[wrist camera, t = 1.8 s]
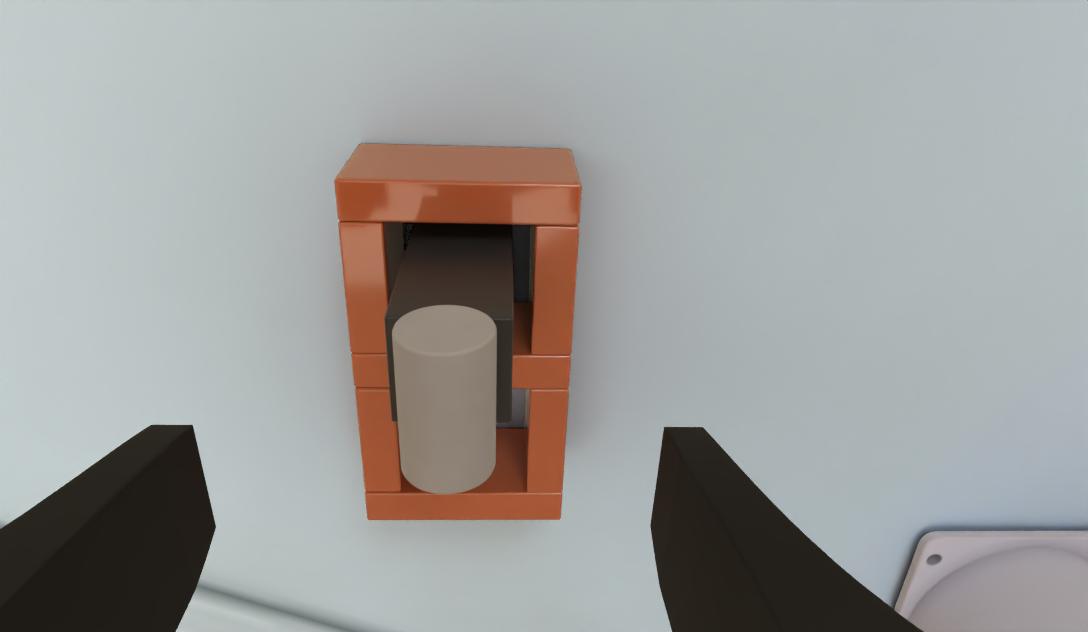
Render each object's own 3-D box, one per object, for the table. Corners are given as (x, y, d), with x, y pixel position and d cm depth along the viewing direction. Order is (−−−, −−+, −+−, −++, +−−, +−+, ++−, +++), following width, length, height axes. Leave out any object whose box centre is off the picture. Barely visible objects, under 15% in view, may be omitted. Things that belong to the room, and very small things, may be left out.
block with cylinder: (510, 294, 21) (511, 495, 13) (424, 293, 21) (378, 495, 13) (512, 191, 19) (515, 354, 12) (420, 189, 19) (365, 352, 12)
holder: (555, 453, 23) (561, 520, 21) (383, 452, 23) (367, 521, 20) (571, 147, 19) (582, 184, 16) (358, 142, 19) (333, 178, 16)
